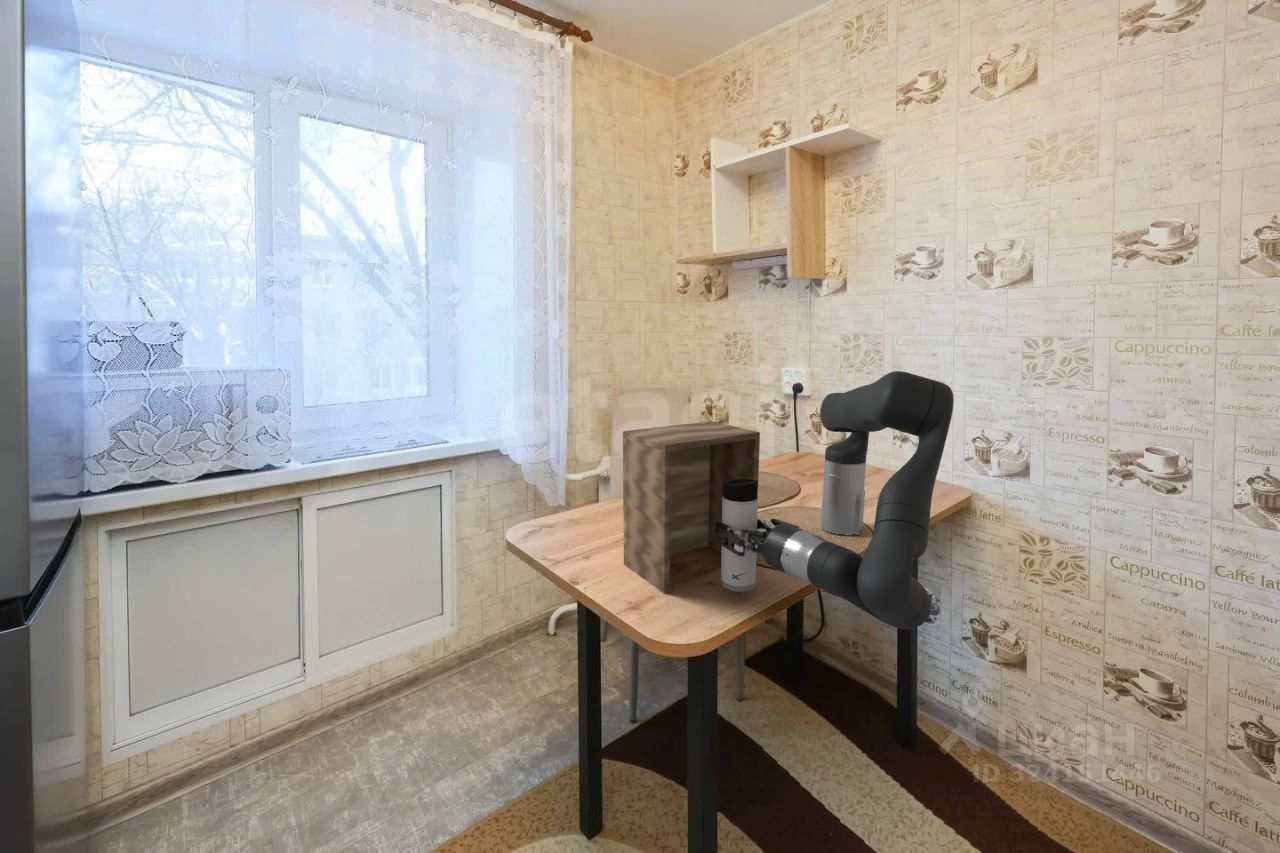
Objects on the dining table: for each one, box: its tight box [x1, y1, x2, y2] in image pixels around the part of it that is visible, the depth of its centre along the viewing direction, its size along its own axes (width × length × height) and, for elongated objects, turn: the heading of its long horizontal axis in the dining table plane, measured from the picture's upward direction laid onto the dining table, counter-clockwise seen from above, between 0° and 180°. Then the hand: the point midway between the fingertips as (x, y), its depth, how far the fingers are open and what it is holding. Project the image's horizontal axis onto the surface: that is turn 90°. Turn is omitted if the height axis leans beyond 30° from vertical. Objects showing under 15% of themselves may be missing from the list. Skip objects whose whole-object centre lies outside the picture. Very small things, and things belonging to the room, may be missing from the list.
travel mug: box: [720, 479, 759, 593], centre depth 101 cm, size 6×7×20 cm
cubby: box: [622, 420, 761, 594], centre depth 114 cm, size 15×22×28 cm
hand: (731, 524), depth 103 cm, fingers closed on travel mug, 6 cm apart
